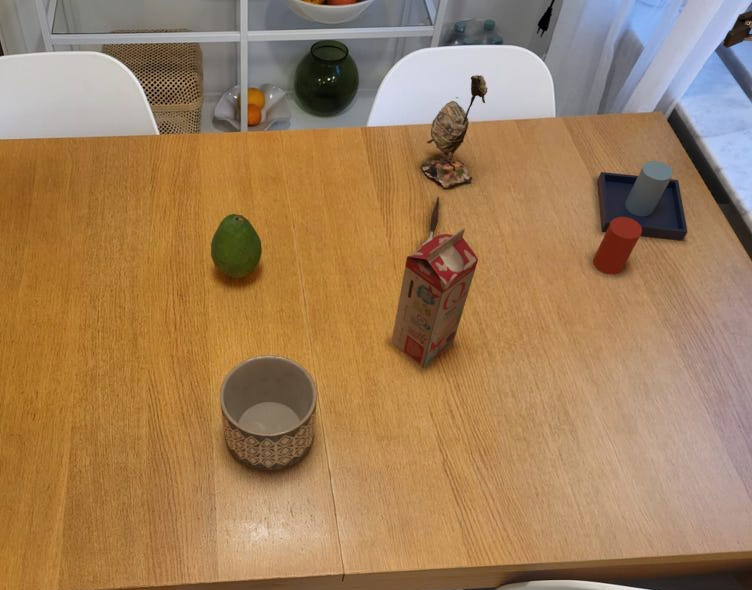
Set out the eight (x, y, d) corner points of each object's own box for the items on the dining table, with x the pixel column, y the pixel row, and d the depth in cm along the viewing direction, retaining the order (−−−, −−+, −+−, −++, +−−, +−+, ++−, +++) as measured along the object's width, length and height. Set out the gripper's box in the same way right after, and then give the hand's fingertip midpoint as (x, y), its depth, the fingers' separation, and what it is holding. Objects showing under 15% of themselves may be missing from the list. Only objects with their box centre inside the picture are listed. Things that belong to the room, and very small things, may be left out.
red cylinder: (622, 254, 125) (640, 218, 119) (624, 275, 122) (643, 240, 116) (592, 251, 126) (609, 215, 119) (593, 272, 123) (611, 236, 116)
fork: (445, 200, 133) (447, 191, 132) (434, 264, 125) (436, 255, 123) (430, 197, 134) (432, 189, 132) (418, 261, 125) (420, 253, 123)
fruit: (232, 246, 128) (228, 191, 118) (271, 265, 125) (270, 211, 115) (204, 275, 124) (197, 221, 114) (243, 296, 121) (239, 242, 111)
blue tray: (673, 188, 134) (678, 179, 132) (682, 240, 127) (687, 232, 125) (597, 180, 136) (600, 171, 134) (601, 231, 128) (605, 222, 127)
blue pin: (658, 205, 131) (677, 169, 124) (646, 220, 129) (665, 184, 122) (632, 193, 133) (650, 157, 126) (620, 208, 131) (637, 171, 124)
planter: (211, 415, 108) (205, 374, 100) (291, 385, 111) (292, 342, 103) (245, 488, 102) (241, 449, 93) (329, 454, 104) (333, 414, 96)
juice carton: (452, 344, 115) (483, 240, 97) (423, 368, 113) (449, 266, 94) (420, 319, 118) (444, 214, 100) (391, 342, 115) (410, 238, 97)
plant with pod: (453, 147, 142) (475, 47, 125) (475, 186, 135) (501, 87, 119) (412, 153, 141) (429, 54, 124) (432, 193, 134) (453, 94, 118)
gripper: (799, -23, 114) (723, 7, 110) (884, 21, 107) (806, 55, 102) (773, 24, 120) (700, 54, 116) (851, 69, 113) (777, 103, 109)
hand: (750, 55), depth 109 cm, fingers open, 8 cm apart
